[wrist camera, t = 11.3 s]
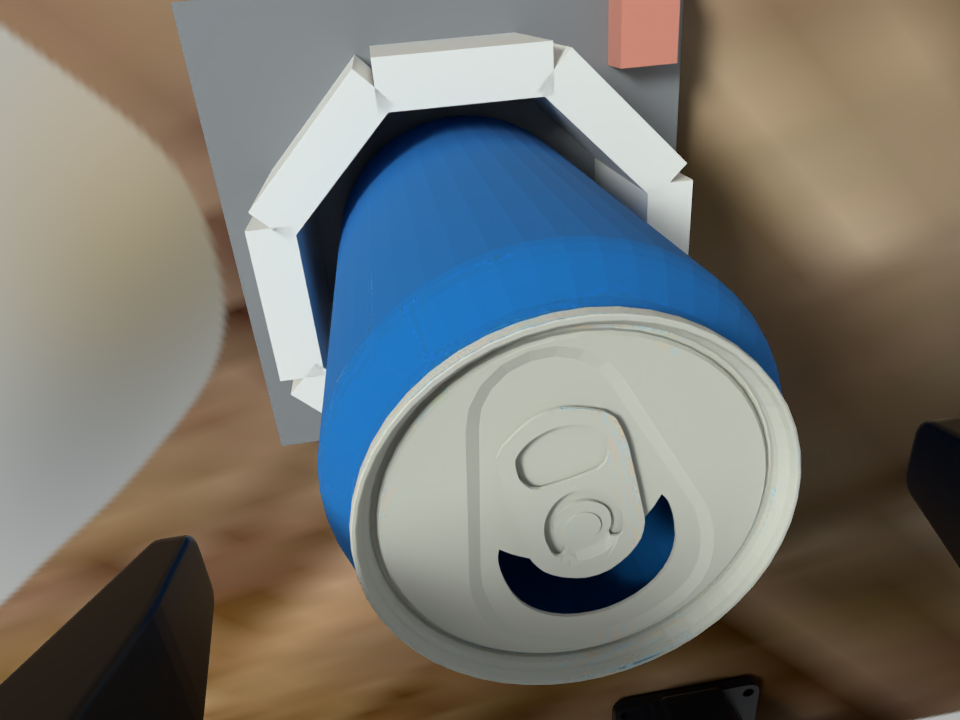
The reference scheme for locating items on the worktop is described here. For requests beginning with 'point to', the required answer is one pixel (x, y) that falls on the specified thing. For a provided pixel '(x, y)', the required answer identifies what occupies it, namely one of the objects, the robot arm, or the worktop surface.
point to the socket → (399, 107)
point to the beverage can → (541, 415)
